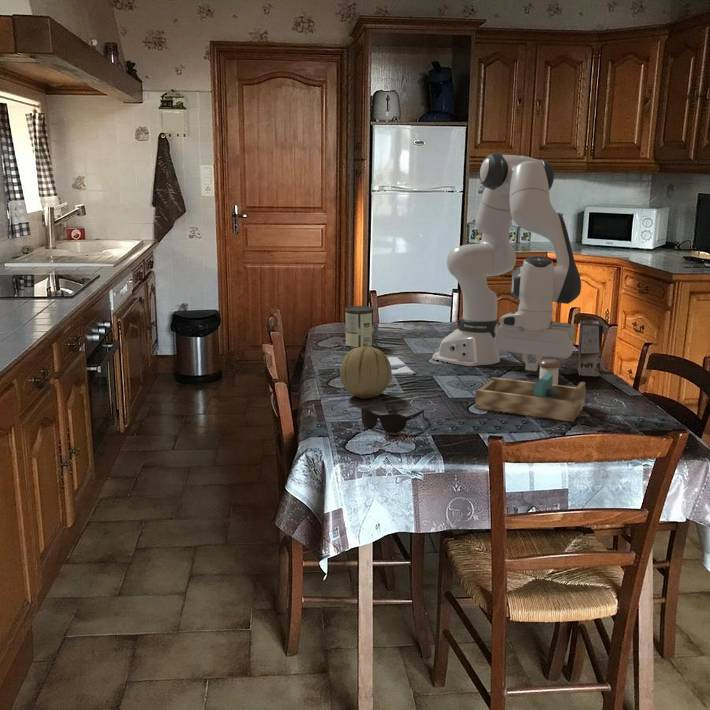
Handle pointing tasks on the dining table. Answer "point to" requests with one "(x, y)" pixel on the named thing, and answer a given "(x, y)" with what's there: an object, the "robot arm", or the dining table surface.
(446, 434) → the dining table surface
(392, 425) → the sunglasses
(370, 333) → the coffee can
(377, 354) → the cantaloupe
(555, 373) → the jar
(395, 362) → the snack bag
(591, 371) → the coffee box
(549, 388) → the block
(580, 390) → the wooden tray
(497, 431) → the dining table surface
